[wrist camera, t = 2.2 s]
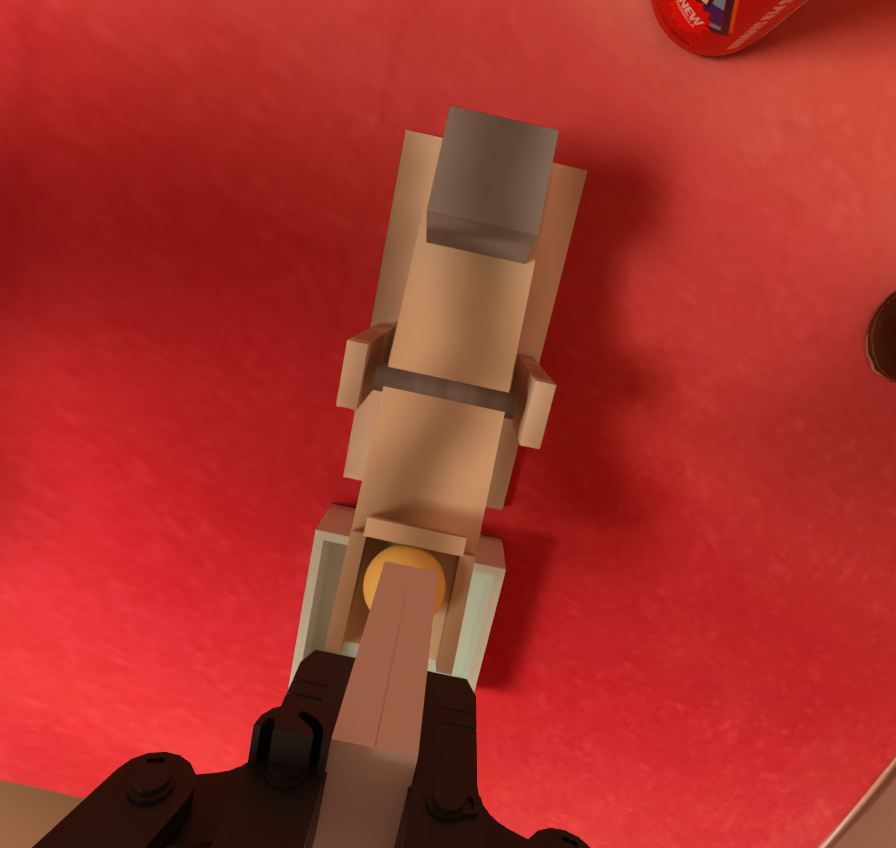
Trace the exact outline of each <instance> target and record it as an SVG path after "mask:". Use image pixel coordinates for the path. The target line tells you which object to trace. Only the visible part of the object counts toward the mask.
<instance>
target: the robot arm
mask: <svg viewBox="0 0 896 848" xmlns="http://www.w3.org/2000/svg"><path fill="white" fill-rule="evenodd" d="M437 576H438V572H435V571H430V570H425V569H420V568H416V567H411V566H406V565H401V564H396V563H391V562H387V561H385V562H384V565H383V568H382V572H381V575H380V578H379V582H378V585H377V588H376V592H375V595H374V598H373V602H372V605H371V608H370V612H369V615H368V618H367V622H366V625H365V628H364V632H363V635H362V638H361V642H360V645H359V648H358V652H357V655H356V658H354V657H349V656H344V655H339V654H334V653H329V652H325V651H320V650H315V651H313V652H312V653H311V654H310V655H308V656H307V657H306V658H305V659H303V660H302V661H301V662H300V664H299V666H298V669H297V671H296V673H295V676H294V678H293V681H292V682H291V685H290V687H289V689H288V691H287V695H286V696H285V698H284V701H283V703H282V705H281V706H280V707H276V708H273V709H271V710H269V711H268V712H266V713H264V714H262V715H261V716H260V718H259V719H258V720H257V721H256V723H255V724H254V727H253V733H252V740H251V746H250V753H249V759H248V762H247V763H246V764H244V765H243V766H241V767H238V768H235V769H233V770H230V771H225V772H219V773H209V774H197V775H195V772H194V770H193V768H192V766H191V763H190V762H188V761H187V760H185V759H184V758H183V757H181V756H180V755H176V754H172V753H168V752H157V753H147V754H145V755H142V756H139V757H136V758H133V759H131V760H130V761H128V762H127V763H125V764H124V765H122V766H121V767H119V768H118V769H117V770H116V771H115V772H114V773H112V774H111V775H110V776H109V777H108V778H107V779H106V780H105V781H104V782H103V783H102V784H101V785H99V786H98V787H97V788H96V789H95V790H94V791H93V792H92V793H91V794H90V795H89V796H88V797H86V798H85V799H84V800H83V801H82V802H81V803H80V804H79V805H78V806H77V807H76V808H75V809H73V810H72V811H71V812H70V813H69V814H68V815H67V816H66V817H65V818H64V819H63V820H62V821H60V822H59V823H58V824H57V825H56V826H55V827H54V828H53V829H52V830H51V831H50V832H49V833H48V834H46V836H44V837H43V838H42V839H41V840H40V841H39V842H38V843H37V844H36V845H35V846H33V847H32V848H590V847H589V846H588V845H587V844H586V843H584V842H583V841H582V840H581V839H580V838H579V837H577V836H575V835H573V834H571V833H569V832H567V831H565V830H560V829H554V828H548V829H544V830H539V831H537V832H536V833H535V834H534V835H533V836H531V837H530V838H529V840H528V839H526V838H524V837H522V836H520V835H518V834H517V833H515V832H513V831H511V830H509V829H507V828H506V827H504V826H503V825H501V824H500V823H498V822H497V821H496V820H495V819H494V818H493V817H492V816H491V815H490V814H489V813H488V811H487V810H486V809H485V807H484V806H483V803H482V799H481V798H480V796H479V794H478V788H477V742H476V695H475V694H474V692H473V690H472V688H471V686H470V684H469V682H468V680H467V679H464V678H459V677H454V676H450V675H445V674H440V673H435V672H430V671H427V669H428V660H429V650H430V641H431V632H432V623H433V613H434V604H435V595H436V586H437Z"/></svg>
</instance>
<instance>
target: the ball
mask: <svg viewBox="0 0 896 848" xmlns="http://www.w3.org/2000/svg"><path fill="white" fill-rule="evenodd" d="M385 561H387V562H391V563H396V564H401V565H406V566H411V567H416V568H420V569H425V570H430V571H435V572H438V576H437V586H436V595H435V604H434V613H433V616H434V615H435V614H436V613H437V611H438V610H439V608H440V606H441V604H442V602H443V599H444V596H445V590H446V583H445V576H444V572H443V570H442V567H441V565H440V564H439V562H438V560H437V559H436V558H435V557H434V556H433V555H432V554H431V553H430V552H428V551H427V550H425V549H424V548H419V547H414V546H409V545H405V544H399V545H394V546H391V547H389V548H387V549H385V550H383V551H382V552H380V553H379V554H378V555H377V556H376V557H375V558H374V559H373V560H372V561H371V563H370V565H369V566H368V568H367V571H366V573H365V577H364V583H363V592H364V598H365V601H366V604H367V606H368V608H369V610H370V608H371V605H372V602H373V598H374V595H375V592H376V588H377V585H378V582H379V578H380V575H381V572H382V568H383V565H384V562H385Z"/></svg>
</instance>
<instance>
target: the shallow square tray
mask: <svg viewBox="0 0 896 848" xmlns="http://www.w3.org/2000/svg"><path fill="white" fill-rule="evenodd" d="M355 510H356V508H352V507H347V506H342V505H337V504H333V503H331V505H330V506H329V508H328V510H327V511H326V513H325V515H324V516H323V518H322V520H321V521H320V523H319V525H318V526H317V528H316V530H315V536H314V542H313V548H312V554H311V559H310V565H309V571H308V577H307V583H306V588H305V594H304V600H303V606H302V612H301V618H300V623H299V629H298V635H297V641H296V647H295V652H294V658H293V664H292V670H291V676H290V682H289V687H290V685H291V682H292V681H293V678H294V676H295V673H296V671H297V669H298V666H299V664H300V662H301V661H302V660H303V659H305V658H306V657H307V656H308V655H310V654H311V653H312V652H313V651H315V650H320V651H325V652H329V653H334V654H339V655H344V656H349V657H354V658H356V655H357V652H358V648H359V645H360V644H355V643H350V642H345V643H344V645H343V647H342V649H341V651H340V652H338V651H333V650H328V649H325V644H326V640H327V634H328V630H329V625H330V621H331V617H332V612H333V608H334V603H335V599H336V594H337V590H338V586H339V581H340V577H341V572H342V568H343V563H344V559H345V555H346V550H347V546H348V541H349V537H350V532H351V528H352V523H353V519H354V515H355ZM505 572H506V565H505V557H504V550H503V542H502V539H499V538H494V537H489V536H484V535H480V537H479V542H478V547H477V552H476V558H475V563H474V568H473V573H472V577H471V582H470V587H469V592H468V597H467V602H466V607H465V612H464V617H463V622H462V627H461V632H460V637H459V642H458V647H457V652H456V657H455V662H454V667H453V672H452V675H450V674H445V673H440V672H436V660H433V659H429V660H428V669H427V671H430V672H435V673H440V674H445V675H450V676H454V677H459V678H464V679H467V680H468V682H469V684H470V686H471V688H472V690H473V692H474V691H475V688H476V684H477V680H478V676H479V672H480V668H481V664H482V661H483V657H484V653H485V649H486V645H487V641H488V638H489V634H490V630H491V626H492V622H493V618H494V614H495V611H496V607H497V603H498V599H499V595H500V591H501V587H502V584H503V580H504V576H505ZM289 687H288V689H289Z"/></svg>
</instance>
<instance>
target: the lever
mask: <svg viewBox="0 0 896 848" xmlns="http://www.w3.org/2000/svg"><path fill="white" fill-rule="evenodd" d="M558 133H559V130H555V129H551V128H546V127H542V126H537V125H533V124H529V123H524V122H520V121H515V120H511V119H506V118H502V117H498V116H493V115H489V114H484V113H480V112H475V111H471V110H466V109H462V108H458V107H453V106H450V109H449V114H448V118H447V122H446V127H445V131H444V136H443V139H442V138H439V142H438V146H437V151H436V155H435V160H434V164H433V169H432V173H431V177H430V182H429V186H428V191H427V195H426V200H425V204H424V209H423V213H422V217H421V222H420V226H419V231H418V235H417V240H416V244H415V248H414V253H413V257H412V262H411V266H410V271H409V275H408V280H407V284H406V288H405V293H404V297H403V302H402V306H401V311H400V315H399V319H398V324H397V328H396V333H395V337H394V342H393V346H392V350H391V355H390V359H389V364H386V363H382V362H379V363H378V365H377V368H376V372H375V377H374V383H373V390H376V391H381V392H382V395H381V399H380V404H379V408H378V413H377V417H376V421H375V426H374V430H373V435H372V439H371V444H370V448H369V452H368V457H367V461H366V466H365V470H364V475H363V479H362V484H361V488H360V492H359V497H358V501H357V506H356V510H355V515H354V519H353V523H352V528H351V532H350V537H349V541H348V546H347V550H346V555H345V559H344V563H343V568H342V572H341V577H340V581H339V586H338V590H337V594H336V599H335V603H334V608H333V612H332V617H331V621H330V625H329V630H328V634H327V640H326V644H325V649H328V650H333V651H338V652H340V651H341V649H342V647H343V645H344V643H345V642H350V643H355V644H360V642H361V638H362V635H363V632H364V628H365V625H366V622H367V618H368V615H369V612H370V610H369V608H368V606H367V604H366V601H365V598H364V592H363V583H364V577H365V573H366V571H367V568H368V566H369V565H370V563H371V561H372V560H373V559H374V558H375V557H376V556H377V555H378V554H379V553H380V552H382V551H383V550H385V549H387V548H389V547H391V546H394V545H399V544H405V545H409V546H414V547H419V548H424V549H425V550H427V551H428V552H430V553H431V554H432V555H433V556H434V557H435V558H436V559H437V560H438V562H439V564H440V565H441V567H442V570H443V572H444V576H445V583H446V590H445V596H444V599H443V602H442V604H441V606H440V608H439V610H438V611H437V613H436V614H435V615H434V616H433V623H432V632H431V641H430V650H429V659H433V660H436V672H440V673H445V674H450V675H452V672H453V667H454V662H455V657H456V652H457V647H458V642H459V637H460V632H461V627H462V622H463V617H464V612H465V607H466V602H467V597H468V592H469V587H470V582H471V577H472V573H473V568H474V563H475V558H476V552H477V547H478V542H479V537H480V532H481V528H482V523H483V518H484V513H485V508H486V503H487V498H488V493H489V488H490V483H491V478H492V473H493V468H494V463H495V458H496V453H497V448H498V443H499V438H500V433H501V429H502V424H503V419H504V418H506V419H511V420H513V418H514V415H515V412H516V408H517V404H518V398H519V392H516V391H511V390H509V389H510V384H511V379H512V374H513V369H514V364H515V359H516V354H517V349H518V344H519V339H520V334H521V330H522V325H523V320H524V315H525V310H526V305H527V300H528V295H529V290H530V285H531V280H532V275H533V270H534V265H535V260H536V255H537V250H538V245H539V240H540V235H541V231H542V226H543V221H544V216H545V211H546V206H547V201H548V196H549V191H550V186H551V181H552V176H553V171H554V166H555V164H553V158H554V153H555V148H556V143H557V138H558Z"/></svg>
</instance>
